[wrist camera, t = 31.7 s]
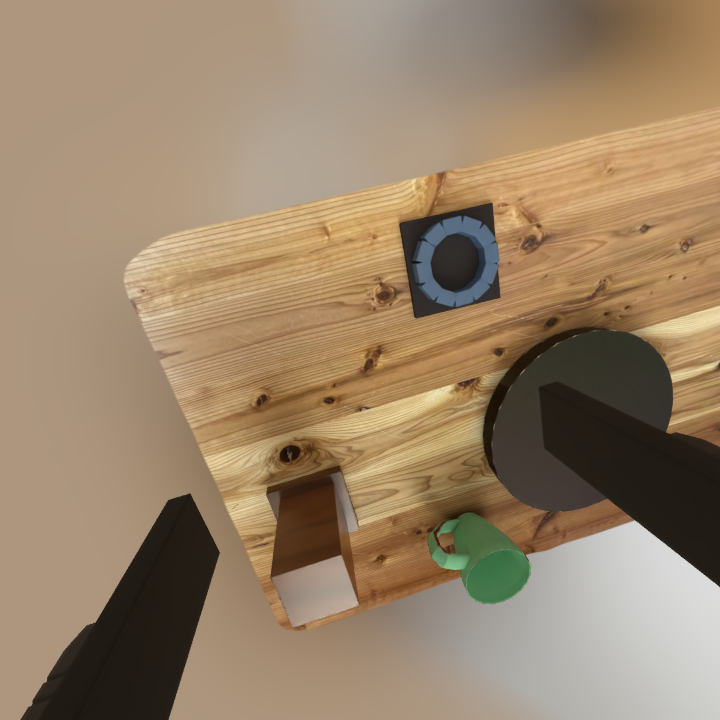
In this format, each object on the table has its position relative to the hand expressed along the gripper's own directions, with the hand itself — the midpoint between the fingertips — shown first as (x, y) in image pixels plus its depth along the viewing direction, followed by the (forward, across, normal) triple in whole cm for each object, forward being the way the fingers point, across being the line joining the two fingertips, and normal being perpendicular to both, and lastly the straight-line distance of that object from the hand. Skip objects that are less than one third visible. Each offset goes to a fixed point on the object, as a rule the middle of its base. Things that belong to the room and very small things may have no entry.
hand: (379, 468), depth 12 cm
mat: (+33, +18, +3) cm, 37 cm away
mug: (+33, +11, -38) cm, 51 cm away
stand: (+33, -10, -27) cm, 43 cm away
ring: (+32, +17, +3) cm, 37 cm away
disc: (+33, +33, -26) cm, 53 cm away
